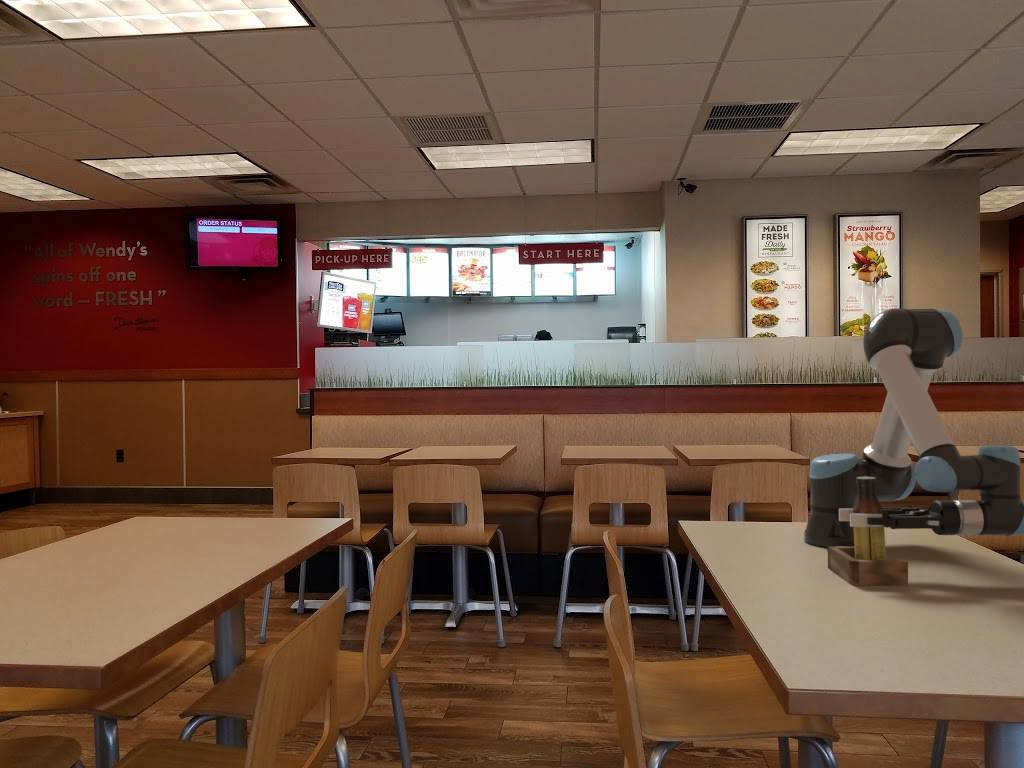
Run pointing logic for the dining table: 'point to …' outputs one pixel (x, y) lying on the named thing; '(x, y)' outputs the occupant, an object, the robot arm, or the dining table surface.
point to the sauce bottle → (868, 538)
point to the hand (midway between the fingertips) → (845, 517)
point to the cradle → (866, 568)
